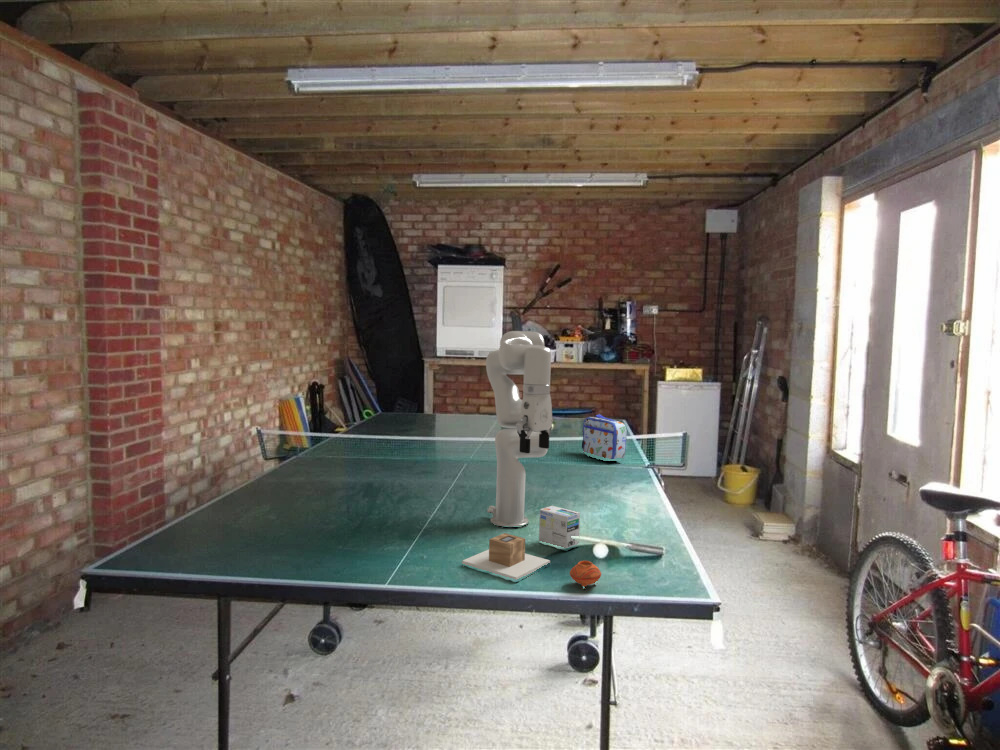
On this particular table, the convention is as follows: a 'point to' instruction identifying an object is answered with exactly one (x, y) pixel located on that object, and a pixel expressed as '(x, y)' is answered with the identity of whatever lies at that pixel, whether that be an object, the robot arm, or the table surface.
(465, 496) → the table surface
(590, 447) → the lunch box
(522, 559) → the oak collar
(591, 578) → the pot
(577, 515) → the light bulb box
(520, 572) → the plate
